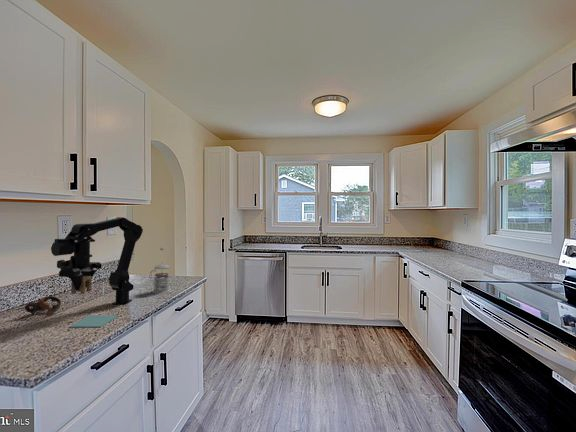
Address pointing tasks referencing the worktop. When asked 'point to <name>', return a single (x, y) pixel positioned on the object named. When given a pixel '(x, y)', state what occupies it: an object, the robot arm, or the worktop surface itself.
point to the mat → (94, 321)
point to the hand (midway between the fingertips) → (81, 288)
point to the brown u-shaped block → (82, 285)
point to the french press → (160, 279)
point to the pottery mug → (43, 305)
